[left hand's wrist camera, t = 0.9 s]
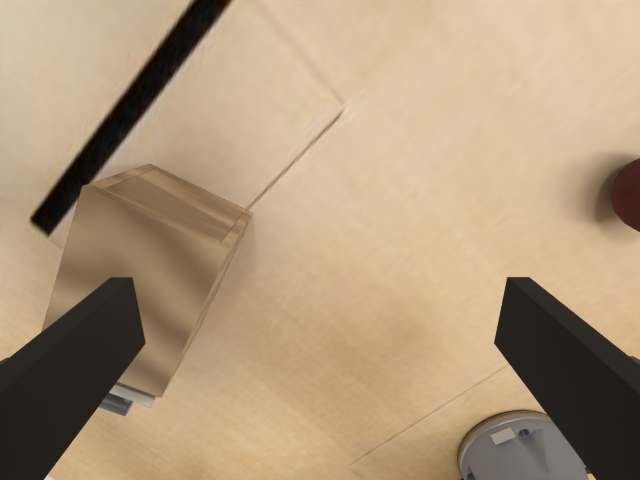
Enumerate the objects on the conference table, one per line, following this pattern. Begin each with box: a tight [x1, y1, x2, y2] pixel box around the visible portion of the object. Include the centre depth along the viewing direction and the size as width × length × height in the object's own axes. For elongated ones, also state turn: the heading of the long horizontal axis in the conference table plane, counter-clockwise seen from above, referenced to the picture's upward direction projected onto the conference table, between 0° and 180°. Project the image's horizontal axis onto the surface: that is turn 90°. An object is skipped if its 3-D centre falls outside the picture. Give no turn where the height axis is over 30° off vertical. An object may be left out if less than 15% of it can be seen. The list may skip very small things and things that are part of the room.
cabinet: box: [41, 164, 252, 398], centre depth 34 cm, size 16×11×11 cm
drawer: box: [99, 382, 157, 416], centre depth 36 cm, size 21×10×9 cm, turn 153°
